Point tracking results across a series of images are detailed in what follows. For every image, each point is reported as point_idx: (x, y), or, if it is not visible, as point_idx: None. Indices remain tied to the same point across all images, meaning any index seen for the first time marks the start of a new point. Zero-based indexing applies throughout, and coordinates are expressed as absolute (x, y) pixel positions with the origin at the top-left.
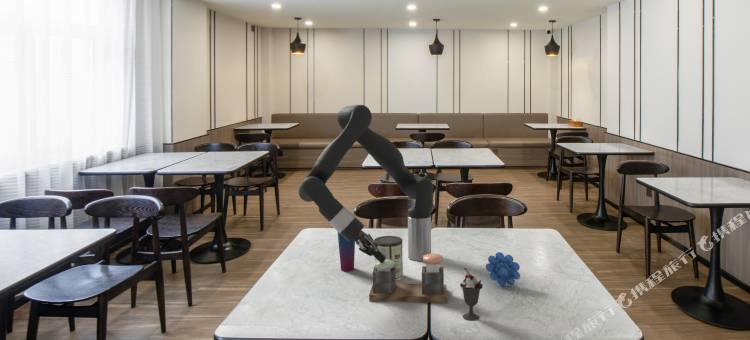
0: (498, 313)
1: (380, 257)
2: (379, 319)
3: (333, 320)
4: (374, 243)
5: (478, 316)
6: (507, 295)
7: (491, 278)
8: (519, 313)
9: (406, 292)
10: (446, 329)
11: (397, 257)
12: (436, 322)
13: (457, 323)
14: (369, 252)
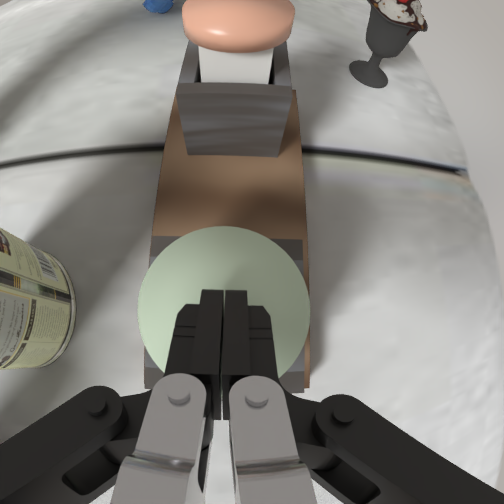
0: (331, 32)
1: (271, 339)
2: (446, 312)
3: (453, 449)
4: (88, 443)
5: (366, 61)
6: None
7: (159, 8)
8: (321, 11)
9: (265, 216)
10: (445, 134)
11: (2, 239)
12: (423, 148)
13: (410, 106)
14: (328, 469)
